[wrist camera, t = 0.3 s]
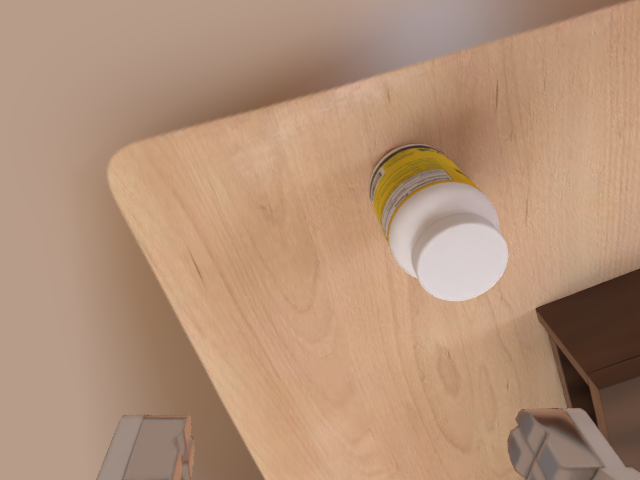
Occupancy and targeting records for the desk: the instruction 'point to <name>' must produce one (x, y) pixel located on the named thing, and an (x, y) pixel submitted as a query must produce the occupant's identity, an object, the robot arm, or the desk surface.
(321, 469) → the desk surface
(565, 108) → the desk surface
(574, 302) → the shelf
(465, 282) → the pill bottle
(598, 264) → the desk surface
